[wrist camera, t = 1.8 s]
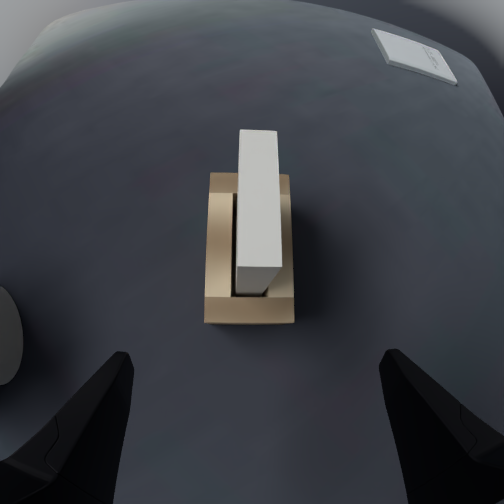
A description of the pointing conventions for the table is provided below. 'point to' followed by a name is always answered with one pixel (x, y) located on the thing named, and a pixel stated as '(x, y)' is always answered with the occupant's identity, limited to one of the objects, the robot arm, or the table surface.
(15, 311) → the coffee mug
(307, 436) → the table surface
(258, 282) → the cover plate
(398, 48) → the external hard drive
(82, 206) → the table surface
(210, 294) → the oak box
